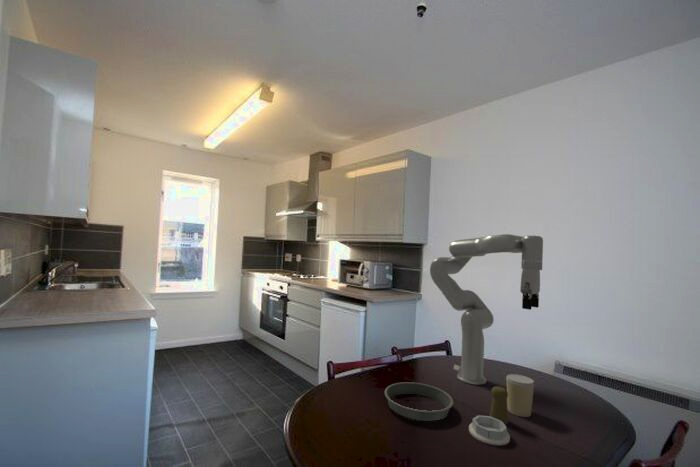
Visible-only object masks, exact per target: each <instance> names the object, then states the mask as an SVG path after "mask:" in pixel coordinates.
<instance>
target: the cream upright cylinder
mask: <svg viewBox="0 0 700 467" xmlns="http://www.w3.org/2000/svg"><path fill="white" fill-rule="evenodd" d="M505 379H506V390H507V392H508V397H507V399H506V406H507V412H509V413H510V414H513V415H515V416H518V417H523V418H528V417H530V416H532V408H533V399H534V388H535V381H534V380H533V379H532V378H530V377H529V376H527V375H526V376H525V375H522V374H514V373H511V374H507V375H506V378H505Z"/></svg>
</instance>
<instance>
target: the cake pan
mask: <svg viewBox="0 0 700 467" xmlns="http://www.w3.org/2000/svg"><path fill="white" fill-rule="evenodd" d="M399 394H419V395H418V396H420V395H424V396H428V397H431V398H434V399H436V400H438V401H439V402H441V403H442V404H443V405H444V406H445V407H446V408H444V409H441V410H432V411H427V410H418V409H413V408H409V407H405V406H402V405H400V404H398V403H396V402H394V401H393V400H391V399H390V398H391V397H393V396H395V395H399ZM384 396H385V397H386V399H387V402H388V407H389V406H390V407H389V409H390V408H391V409H392V410H394V411H395V412H397V413H398V414H400V415H402V416H405V417H408V418H411V419H416V420H423V421H433V420H440V419H442V420H444V419H445V418H447V416H448V415H447V414H449V411H450V409H451V408H452V407H453V406H454V400H453V397H452V396H451V395H450V394H449V393H447V392H446V391H444V390H442V389H441V388H439V387H436V386H432V385H430V384H427V383H421V382H420V383H419V382H409V381H407V382H405V381H403V382H396V383H392V384H390V385H388V386H387V387H386V388H385V390H384ZM399 396H400V395H399ZM424 396H423V397H424ZM428 397H427V398H428ZM431 398H430V399H431ZM391 409H390V410H391ZM392 410H391V411H392ZM395 412H394V413H395ZM398 414H397V415H398ZM443 418H444V419H443ZM440 421H441V420H440Z"/></svg>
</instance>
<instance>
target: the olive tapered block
mask: <svg viewBox="0 0 700 467" xmlns="http://www.w3.org/2000/svg"><path fill="white" fill-rule="evenodd" d="M491 395H492V401H491V404H490V405H491V406H490V411H489V416H490V417H493V418H495V419H498V420H500V421H502V422H503V423H504V424H505V426H506V425H508V424H509V419H508V408H507V397H508V392H507V388H505V387H502V386H498V385H497V386H493V387H492V388H491Z"/></svg>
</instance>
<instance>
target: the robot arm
mask: <svg viewBox="0 0 700 467" xmlns="http://www.w3.org/2000/svg"><path fill="white" fill-rule="evenodd" d="M448 250H449V253H450V254H451V255H452V256H450V257H444V256H443V257H442V256H441V257H437V258H435V259H433V260H432V262H431V263H430V267H429V275H430V277H431V279H432V282H433V283H434V285H436V287H437V288H438V289H439V290H440V291H441V293H442V295H443V296H444V297H445V299H446V300H447V302H448V303H449V304H450V305H451V307H452V308H453V309H454V310H456V311H459V312H460V311H461V312H462V311H464V312H463V313H462V315H461V319H460V325H461V326H460V327H461V356H460V357H461V360H460V361H461V362H460V366H459V365H458V364H454V365H453V371H457V372H458V373H456V378H457V379H458V380H459V381H460V382H463V383H466V384H470V385H477V386H478V385H479V386H480V385H481V386H483V385H485V384H486V383H487V378H486V377H485V376H484V357H485V355H484V354H485V337H484V336H485V335H484V332H483V330H485V329H488V328H490V327H491V326H493V324H494V321H495V320H494V315H493V313H492V311H491V310H490V309H489V308H488V306H487V305H486V304H485V303H484V301H483V300H482V299H481V297H480V296H479V295H478V294H476V293H475V292H474V291H472V290H470V289H466V290H465V289H462V288H461V287H460V285H459V284H458V282H456V280H455V279H453V278H452V277H451V276H450V275H455V274H458V273H459V272H461V271H462V269H463V268H465V266H466V265H467V264H468V263H469V262H470V261H471V259H472V258H473V257H484V256H486V255H488V254H489V255H490V254H498V253H510V254H513V253H514V254H520V253H521V266H520V267H521V269H522V270H521V271H522V272H521V279H520V290H519V291H520V293H521V294H522V305H521V307H522V309H524V310H532V308H539V306H540V305H539V301H540V295H539V294H540V290H541V271H542V270H543V252H544V239H543V236H540V235H524V236H521V235H520V236H519V235H514V234H508V233H507V234H506V233H505V234H496V235H488V236H482V237H481V236H480V237H474V238H467V239H465V238H464V239H458V240H454V241H452V242H451V243H450V244H449V247H448Z"/></svg>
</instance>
